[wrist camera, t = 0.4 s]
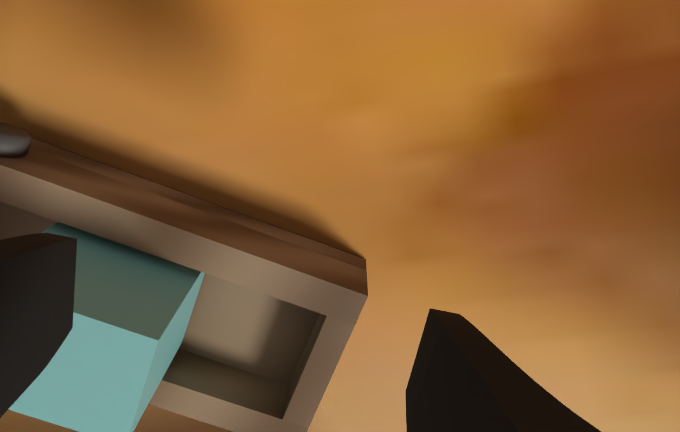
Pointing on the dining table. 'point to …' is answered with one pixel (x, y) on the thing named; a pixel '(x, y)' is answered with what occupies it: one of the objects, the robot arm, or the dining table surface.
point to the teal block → (113, 336)
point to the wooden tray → (206, 284)
